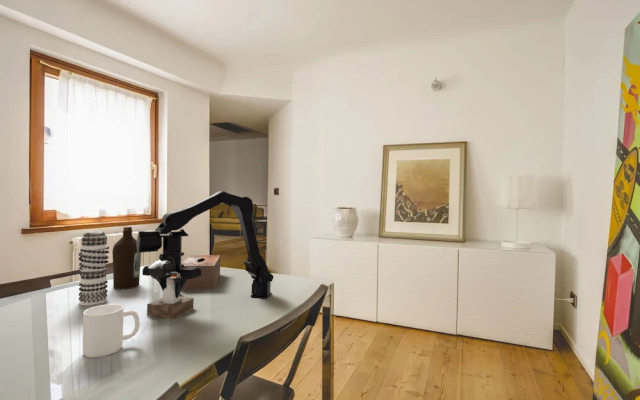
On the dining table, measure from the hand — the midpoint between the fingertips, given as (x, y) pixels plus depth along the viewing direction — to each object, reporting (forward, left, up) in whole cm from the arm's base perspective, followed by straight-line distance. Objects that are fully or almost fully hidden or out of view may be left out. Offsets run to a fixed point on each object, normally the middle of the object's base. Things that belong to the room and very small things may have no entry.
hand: (171, 297), depth 110 cm
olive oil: (+38, -21, -5) cm, 44 cm away
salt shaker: (0, 0, -4) cm, 4 cm away
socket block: (0, 0, -5) cm, 5 cm away
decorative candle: (+33, -1, -5) cm, 33 cm away
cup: (-4, +27, -5) cm, 28 cm away
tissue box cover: (+14, -38, -5) cm, 41 cm away
